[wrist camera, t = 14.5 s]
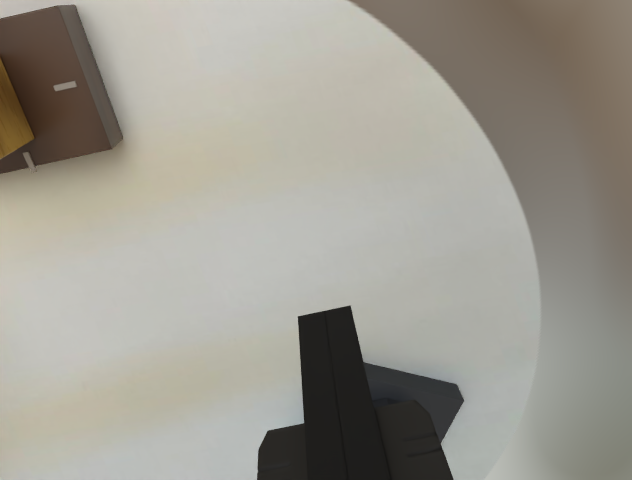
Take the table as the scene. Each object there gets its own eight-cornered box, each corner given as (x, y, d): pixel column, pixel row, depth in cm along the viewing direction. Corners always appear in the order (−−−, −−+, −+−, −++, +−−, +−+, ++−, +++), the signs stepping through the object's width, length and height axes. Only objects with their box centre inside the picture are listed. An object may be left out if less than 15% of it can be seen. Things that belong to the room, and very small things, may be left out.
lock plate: (72, -2, 35) (54, -1, 32) (125, 142, 39) (113, 154, 36) (-90, 36, 35) (-123, 39, 32) (-21, 175, 39) (-45, 189, 36)
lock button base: (456, 384, 50) (470, 414, 46) (415, 461, 54) (425, 495, 50) (335, 355, 48) (339, 385, 44) (300, 438, 52) (302, 471, 48)
